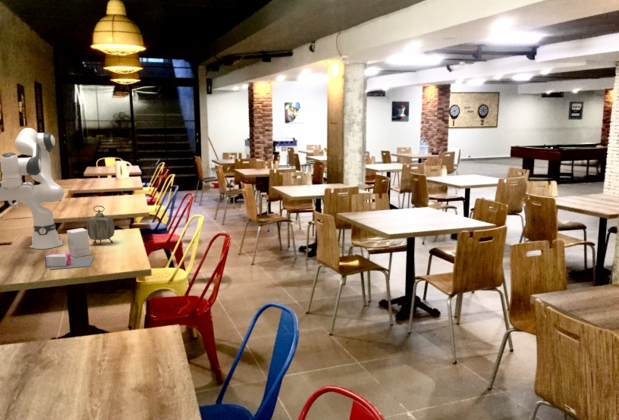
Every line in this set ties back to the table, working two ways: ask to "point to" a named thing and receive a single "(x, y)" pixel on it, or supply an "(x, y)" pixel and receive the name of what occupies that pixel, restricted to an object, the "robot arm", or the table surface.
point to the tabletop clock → (100, 227)
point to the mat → (76, 263)
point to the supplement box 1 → (57, 260)
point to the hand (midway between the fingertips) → (15, 208)
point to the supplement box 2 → (78, 242)
